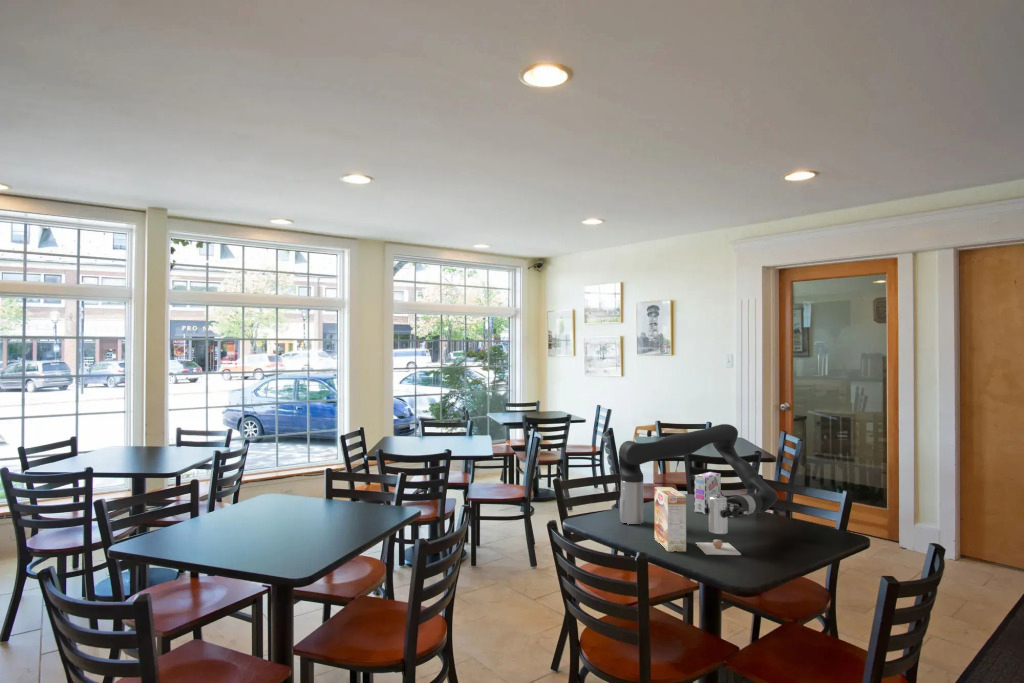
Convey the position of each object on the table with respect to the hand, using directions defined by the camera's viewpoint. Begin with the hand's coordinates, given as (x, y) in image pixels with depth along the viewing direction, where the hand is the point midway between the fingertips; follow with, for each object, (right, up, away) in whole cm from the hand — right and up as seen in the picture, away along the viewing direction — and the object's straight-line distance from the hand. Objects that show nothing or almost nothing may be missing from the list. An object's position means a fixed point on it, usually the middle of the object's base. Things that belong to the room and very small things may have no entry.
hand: (714, 512), depth 208 cm
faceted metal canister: (+2, -7, +1) cm, 7 cm away
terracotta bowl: (+2, -13, +1) cm, 13 cm away
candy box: (+16, -16, +56) cm, 60 cm away
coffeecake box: (-14, -14, +5) cm, 20 cm away
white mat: (+2, -13, +1) cm, 13 cm away
